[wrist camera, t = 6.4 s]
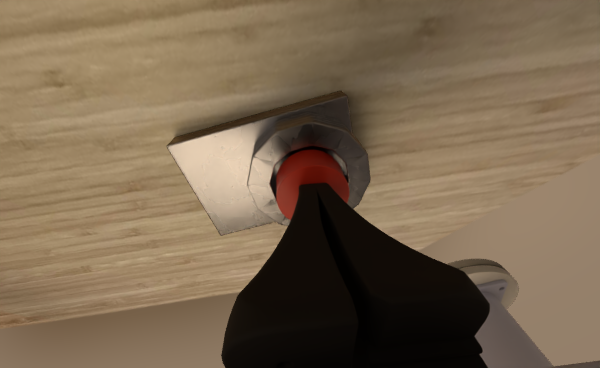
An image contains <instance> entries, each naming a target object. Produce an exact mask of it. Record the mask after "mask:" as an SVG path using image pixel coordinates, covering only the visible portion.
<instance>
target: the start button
mask: <svg viewBox="0 0 600 368" xmlns="http://www.w3.org/2000/svg"><path fill="white" fill-rule="evenodd" d="M314 183H328V184H329V185H330V186H331V187H332V189H333V190H334V191H335V192H336V193H337V194H338V195H339V196H340V197H341V198H342V199H343V200H344V201H345V202H346V203H347V202H348V199H349V185H348V183H347V180H346V178H345V176H344V174H343V172H342V170H341V168H340V166H339V164H338V162H337V161H336V160H335V159H334V158H333V157H332V156H331V155H329V154H328V153H325V152H323V151H320V150H303V151H300V152H297V153H295V154H293V155H291V156H289V157H288V158H287V159H286V160H285V161H284V162H283V163H282V164H281V166H280V168H279V170H278V173H277V178H276V199H277V204H278V207H279V209H280V211H281V212H282V214H283V215H284V216H285V217H287V218H288V219H289V220H291V218H292V215H293V213H294V210H295V207H296V203H297V200H298V195H299V186H300V185H301V184H314Z"/></svg>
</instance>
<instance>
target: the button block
mask: <svg viewBox="0 0 600 368" xmlns="http://www.w3.org/2000/svg"><path fill="white" fill-rule="evenodd" d="M167 148H168V150H169V152H170V153H171V155H172V157H173V158H174V160H175V161H176V163H177V165H178V166H179V168H180V170H181V171H182V173H183V175H184V176H185V178H186V179H187V181H188V183H189V184H190V186H191V188H192V189H193V191H194V193H195V194H196V196H197V197H198V199H199V201H200V202H201V204H202V206H203V207H204V209H205V211H206V212H207V214H208V215H209V217H210V219H211V220H212V222H213V224H214V225H215V227H216V229H217V230H218V232H219V233H220V235H225V234H229V233H233V232H237V231H241V230H245V229H249V228H253V227H257V226H261V225H265V224H269V223H273V222H277V223H279V224H281V225H286V226H288V225H289V223H290V220H289V219H288V218H287V217H285V216H284V215H283V214H282V212H281V211H280V209H279V207H278V204H277V199H276V178H277V173H278V170H279V168H280V166H281V164H282V163H283V162H284V161H285V160H286V159H287V158H288V157H289V156H291V155H293V154H295V153H297V152H300V151H303V150H320V151H323V152H325V153H328V154H329V155H331V156H332V157H333V158H334V159H335V160H336V161H337V162H338V164H339V166H340V168H341V170H342V172H343V174H344V176H345V178H346V180H347V183H348V185H349V199H348V202H347V204H348V205H349V206H350V207H351V208H352V209H353V208H355V207H356V206H357V205H359V203H360V201H361V199H362V197H363V195H364V193H365V191H366V189H367V187H368V185H369V183H370V170H369V161H368V153H367V151H366V150H365V149H364V147H363V146H362V145H361V143H360V142H359V141H358V140H357V138H356V137H355V136H354V135H353V133H352V126H351V118H350V111H349V104H348V96H347V95H346V94H345V93H344V92H343V91H337V92H334V93H330V94H327V95H323V96H320V97H316V98H313V99H309V100H305V101H302V102H298V103H295V104H291V105H288V106H284V107H281V108H277V109H274V110H270V111H266V112H263V113H259V114H256V115H252V116H249V117H245V118H242V119H238V120H235V121H231V122H228V123H224V124H220V125H217V126H213V127H210V128H206V129H203V130H199V131H196V132H192V133H189V134H185V135H181V136H178V137H175V138H174V139H173V140H172V141H171V142H170V143H169V144H168V145H167Z"/></svg>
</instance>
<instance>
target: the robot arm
mask: <svg viewBox="0 0 600 368" xmlns="http://www.w3.org/2000/svg"><path fill="white" fill-rule="evenodd" d="M507 285H508V283H507V282H506V281H505V280H503V279H501V280H496V281H492V282H487V283H483V284H478V285H475V284H474V282H473V281H472V280H471V279H470V278H469V277H468V275H467V274H466V273H465V272H464V271H462V270H459V269H457V268H455V267H452V266H450V265H447V264H445V263H442V262H440V261H437V260H435V259H432V258H430V257H428V256H426V255H424V254H422V253H419V252H418V251H416V250H414V249H412V248H410V247H408V246H406V245H404V244H402V243H400V242H399V241H397V240H395V239H394V238H392V237H390V236H388V235H387V234H385V233H384V232H382V231H381V230H379V229H378V228H376V227H375V226H373V225H372V224H371V223H369V222H368V221H367V220H365V219H364V218H363V217H362V216H360V215H359V214H358V213H357V212H356V211H355V210H353V209H352V208H351V207H350V206H349V205H348V204H347V203H346V202H345V201H344V200H343V199H342V198H341V197H340V196H339V195H338V194H337V193H336V192H335V191H334V190H333V189H332V187H331V186H330V185H329V184H328V183H314V184H301V185H300V186H299V195H298V200H297V203H296V207H295V210H294V213H293V215H292V218H291V220H290V223H289V225H288V227H287V229H286V231H285V233H284V235H283V237H282V239H281V241H280V242H279V244H278V246H277V247H276V249H275V250H274V252H273V253H272V255H271V256H270V258H269V259H268V260H267V262H266V263H265V264H264V266H263V267H262V268H261V270H260V271H259V272H258V273H257V275H256V276H255V277H254V278H253V279H252V280H251V281H250V282H249V284H248V285H247V286H246V287H245V288H244V289H243V290H242V291H241V292H240V293H239V295H238V296H237V299H236V301H235V304H234V306H233V309H232V311H231V314H230V317H229V321H228V324H227V328H226V331H225V337H224V343H223V350H222V355H221V356H222V361H223V364H224V366H225V368H600V361H593V362H586V363H578V364H570V365H561V366H555V367H554V366H553V365H552V364H551V363H550V361H549V360H548V359H547V358H546V357H545V355H544V354H543V353H542V352H541V351H540V349H539V348H538V347H537V346H536V345H535V343H534V342H533V341H532V340H531V339H530V337H529V336H528V335H527V334H526V333H525V331H524V330H523V329H522V328H521V327H520V325H519V324H518V323H517V322H516V321H515V319H514V318H513V317H512V316H511V315H510V313H509V312H508V311H507V310H506V309H505V307H504V306H503V305H502V304H501V301H502V298H503V295H504V293H505V290H506V287H507Z"/></svg>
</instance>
